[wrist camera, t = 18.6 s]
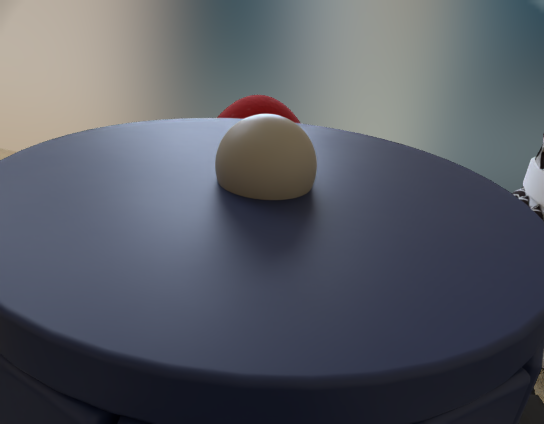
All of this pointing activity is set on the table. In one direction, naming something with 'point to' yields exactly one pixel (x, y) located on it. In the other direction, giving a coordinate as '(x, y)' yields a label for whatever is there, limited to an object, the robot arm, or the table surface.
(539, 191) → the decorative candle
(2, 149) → the table surface
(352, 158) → the slatted storage jar
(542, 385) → the table surface
